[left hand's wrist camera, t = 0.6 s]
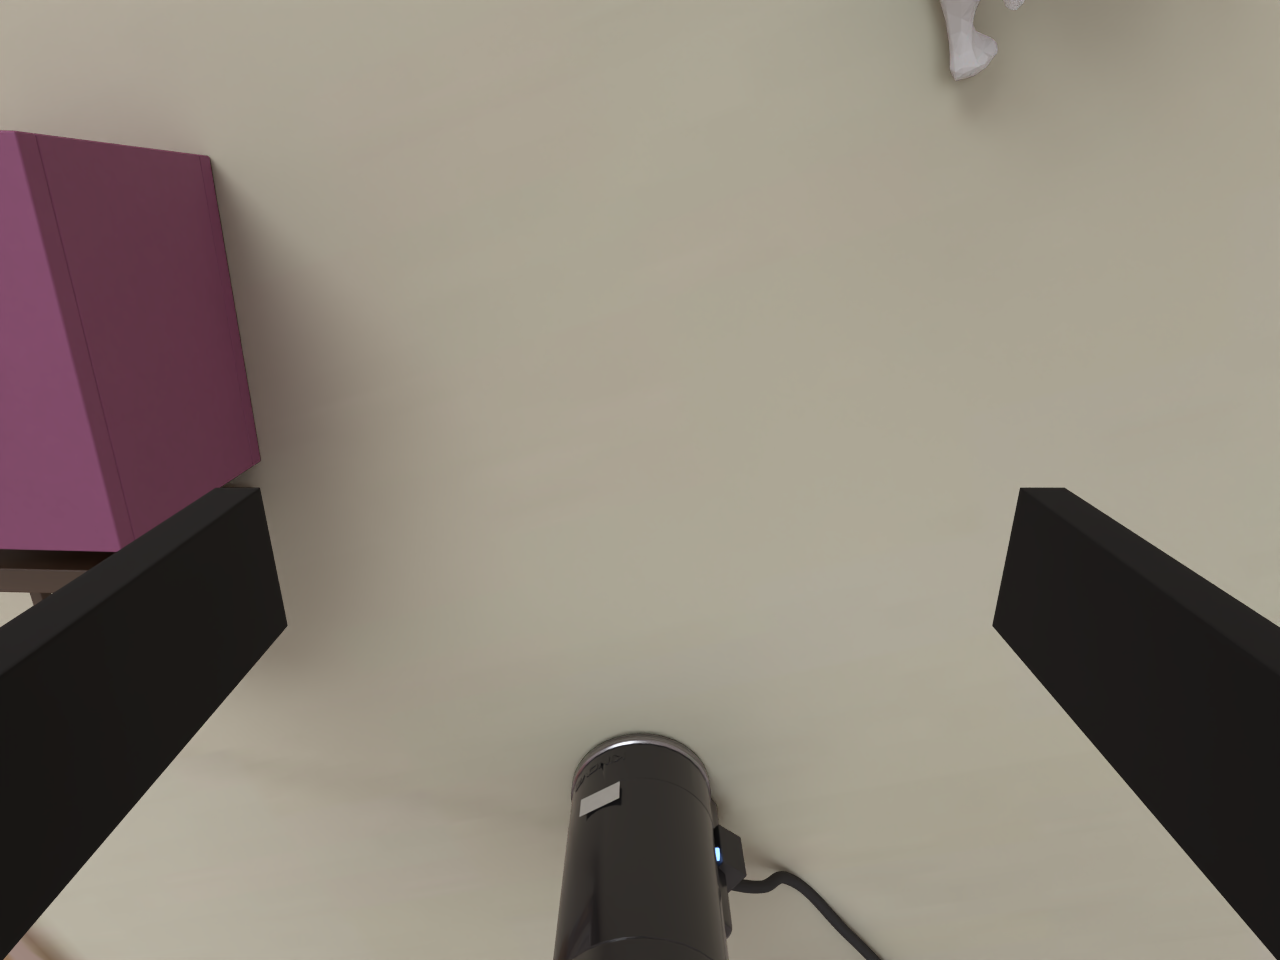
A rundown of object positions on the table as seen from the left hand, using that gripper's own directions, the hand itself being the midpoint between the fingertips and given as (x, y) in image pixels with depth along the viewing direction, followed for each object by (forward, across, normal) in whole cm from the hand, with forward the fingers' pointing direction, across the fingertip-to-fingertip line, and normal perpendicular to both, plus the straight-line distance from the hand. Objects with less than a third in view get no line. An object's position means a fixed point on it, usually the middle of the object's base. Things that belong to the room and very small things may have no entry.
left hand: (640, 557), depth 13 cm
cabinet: (+27, -27, 0) cm, 38 cm away
